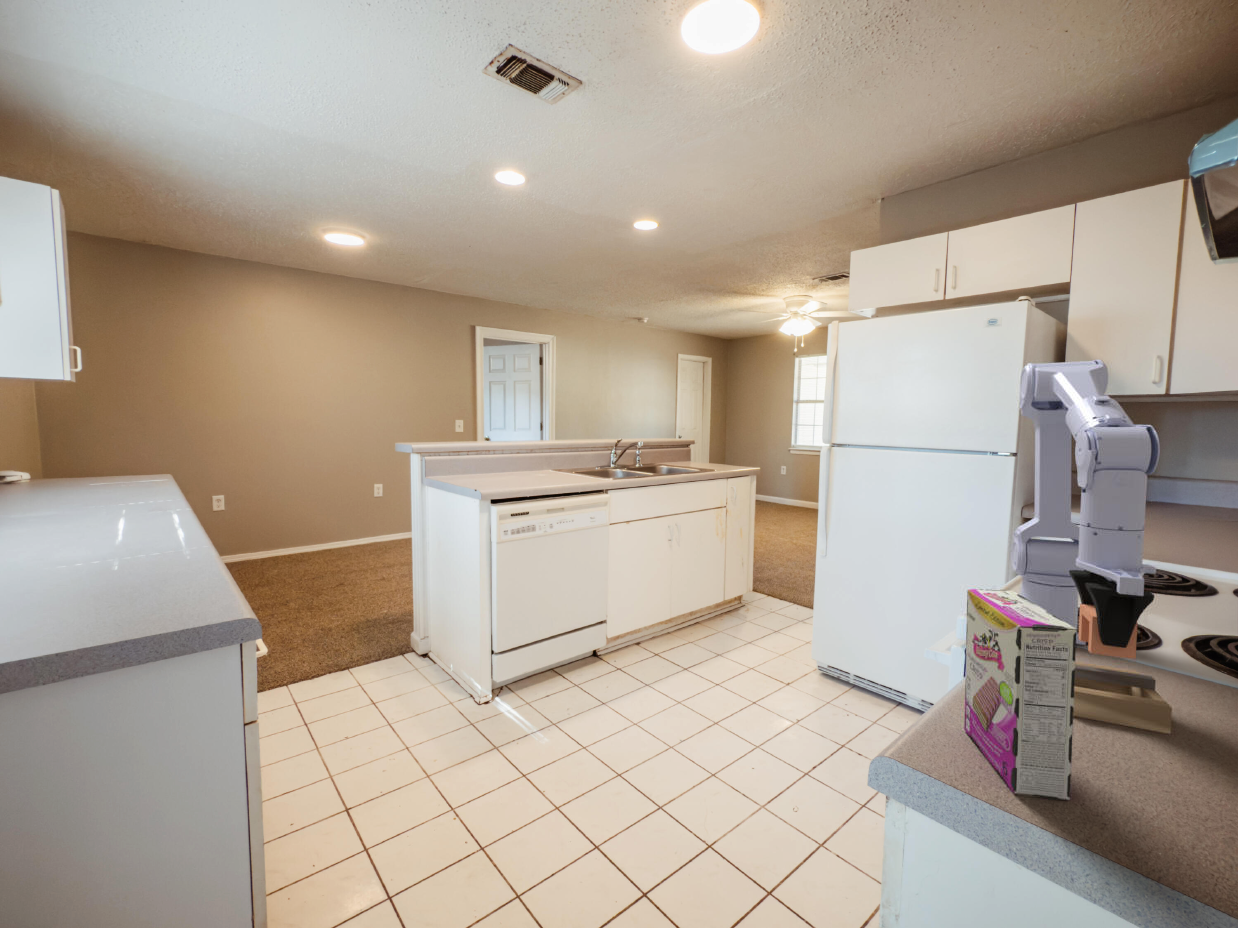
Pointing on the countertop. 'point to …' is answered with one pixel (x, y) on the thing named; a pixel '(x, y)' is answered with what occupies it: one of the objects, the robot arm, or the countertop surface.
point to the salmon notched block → (1091, 635)
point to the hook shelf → (1119, 698)
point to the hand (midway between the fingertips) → (1105, 637)
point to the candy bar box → (1020, 691)
